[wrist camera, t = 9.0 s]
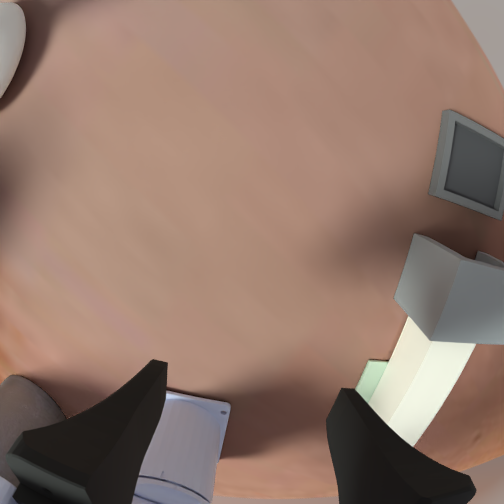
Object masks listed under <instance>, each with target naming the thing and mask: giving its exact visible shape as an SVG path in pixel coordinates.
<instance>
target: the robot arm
mask: <svg viewBox="0 0 504 504" xmlns="http://www.w3.org/2000/svg"><path fill="white" fill-rule="evenodd" d="M167 366H168V363H167V362H163V361H158V360H154V359H153V360H151V361H150V362H149V363H148V364H147V365H146V366H145V367H144V368H143V369H142V370H141V371H140V372H139V373H137V374H136V375H135V376H134V377H133V378H132V379H131V380H130V381H128V382H127V383H126V384H125V385H124V386H122V387H121V388H120V389H119V390H117V391H116V392H114V393H113V394H112V395H110V396H109V397H108V398H106V399H105V400H103V401H102V402H100V403H98V404H97V405H95V406H93V407H92V408H90V409H88V410H86V411H84V412H82V413H80V414H78V415H76V416H74V417H71V418H69V419H66V420H64V421H61V422H58V423H55V424H52V425H49V426H45V427H41V428H36V429H32V430H27V431H23V432H22V433H21V434H20V435H19V436H18V438H17V439H16V440H15V442H14V443H13V445H12V446H11V448H10V449H9V451H8V452H7V454H6V455H5V457H6V461H7V463H8V465H9V467H10V469H11V470H12V472H13V473H14V474H15V476H16V477H17V479H18V480H19V482H20V484H19V485H18V487H17V488H16V487H15V486H14V485H13V484H11V483H10V482H9V481H7V480H6V479H4V478H2V477H1V476H0V504H212V499H213V491H214V483H215V475H216V466H217V463H218V462H219V458H220V454H221V449H222V445H223V441H224V436H225V432H226V427H227V423H228V418H229V414H230V409H231V405H230V404H229V403H227V402H221V401H216V400H210V399H205V398H200V397H194V396H190V395H185V394H180V393H176V392H171V391H167V390H166V388H167ZM223 411H226V412H223ZM326 426H327V438H328V444H329V449H330V453H331V457H332V462H333V466H334V471H335V475H336V479H337V485H338V494H339V504H467V503H468V502H469V501H470V500H471V499H472V498H473V496H474V495H475V493H476V488H475V486H474V484H473V482H472V480H471V478H470V476H469V475H466V474H463V473H460V472H458V471H455V470H452V469H450V468H448V467H446V466H444V465H441V464H439V463H438V462H436V461H434V460H432V459H430V458H429V457H427V456H426V455H424V454H422V453H421V452H419V451H418V450H416V449H415V448H414V447H412V446H411V445H410V444H409V443H407V442H406V441H405V440H403V439H402V438H401V437H400V436H399V435H398V434H397V433H396V432H395V431H393V430H392V429H391V428H390V427H389V426H388V425H387V424H386V423H385V422H384V421H383V420H382V419H381V417H380V416H379V415H378V414H377V413H376V412H375V411H374V410H373V409H372V408H371V406H370V405H369V404H368V403H367V402H366V401H365V400H364V399H363V397H362V396H361V395H360V394H359V393H358V392H357V391H356V390H355V389H350V388H341V390H340V392H339V394H338V397H337V399H336V401H335V403H334V405H333V407H332V409H331V411H330V413H329V415H328V417H327V419H326Z"/></svg>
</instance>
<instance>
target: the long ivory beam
mask: <svg viewBox="0 0 504 504" xmlns="http://www.w3.org/2000/svg"><path fill="white" fill-rule="evenodd" d="M475 345H476V344H473V343H454V342H438V341H429V339H428V338H427V337H426V336H425V334H424V333H423V332H422V331H421V330H420V329H419V327H418V326H417V325H416V324H415V323H414V321H413V320H412V319H411V318H410V317H409V316H408V318H407V321H406V323H405V326H404V328H403V331H402V333H401V335H400V338H399V340H398V342H397V345H396V347H395V349H394V352H393V354H392V356H391V358H390V360H389V362H388V365H387V367H386V369H385V371H384V373H383V375H382V377H381V379H380V381H379V383H378V385H377V387H376V389H375V391H374V393H373V395H372V397H371V399H370V401H369V403H368V404H369V405H370V406H371V408H372V409H373V410H374V411H375V412H376V413H377V414H378V415H379V416H380V417H381V419H382V420H383V421H384V422H385V423H386V424H387V425H388V426H389V427H390V428H391V429H392V430H393V431H395V432H396V433H397V434H398V435H399V436H400V437H401V438H402V439H403V440H405V441H406V442H407V443H409V444H410V445H411V446H412V447H413V446H414V445H415V443H416V442H417V441H418V439H419V438H420V437H421V435H422V434H423V433H424V431H425V430H426V428H427V427H428V425H429V424H430V422H431V421H432V420H433V418H434V417H435V415H436V414H437V412H438V410H439V409H440V407H441V406H442V404H443V403H444V401H445V399H446V398H447V396H448V395H449V393H450V391H451V390H452V388H453V386H454V384H455V383H456V381H457V379H458V377H459V376H460V374H461V372H462V370H463V368H464V366H465V365H466V363H467V361H468V359H469V357H470V355H471V353H472V351H473V349H474V347H475Z"/></svg>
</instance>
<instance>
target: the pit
mask: <svg viewBox="0 0 504 504" xmlns="http://www.w3.org/2000/svg"><path fill="white" fill-rule="evenodd" d="M428 194H429V195H432V196H435V197H438V198H441V199H444V200H447V201H450V202H453V203H455V204H458V205H461V206H464V207H466V208H469V209H472V210H474V211H477V212H479V213H482V214H485V215H487V216H490V217H492V218H495V219H498V220H500V221H501V220H502V216H503V212H504V139H503V138H502V137H500V136H498V135H497V134H495V133H493V132H492V131H490V130H488V129H486V128H485V127H483V126H481V125H479V124H477V123H475V122H474V121H472V120H470V119H468V118H466V117H464V116H462V115H460V114H458V113H456V112H454V111H452V110H445V111H442V119H441V126H440V133H439V139H438V146H437V152H436V157H435V163H434V168H433V173H432V178H431V183H430V187H429V192H428Z"/></svg>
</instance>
